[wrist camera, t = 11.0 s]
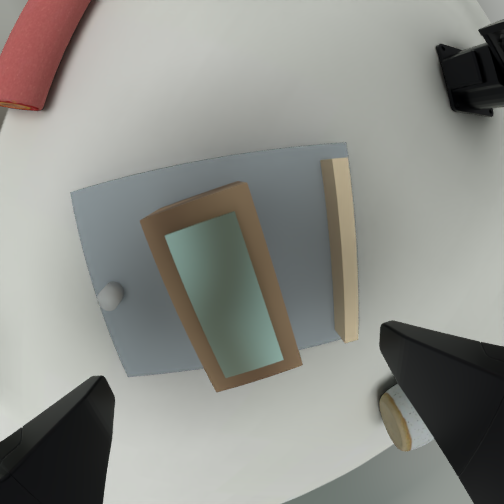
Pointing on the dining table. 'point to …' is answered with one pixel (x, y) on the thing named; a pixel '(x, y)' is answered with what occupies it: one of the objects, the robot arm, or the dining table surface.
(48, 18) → the blood vessel
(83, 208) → the grey flat panel
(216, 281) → the frame
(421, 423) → the ceramic mug
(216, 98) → the dining table surface
